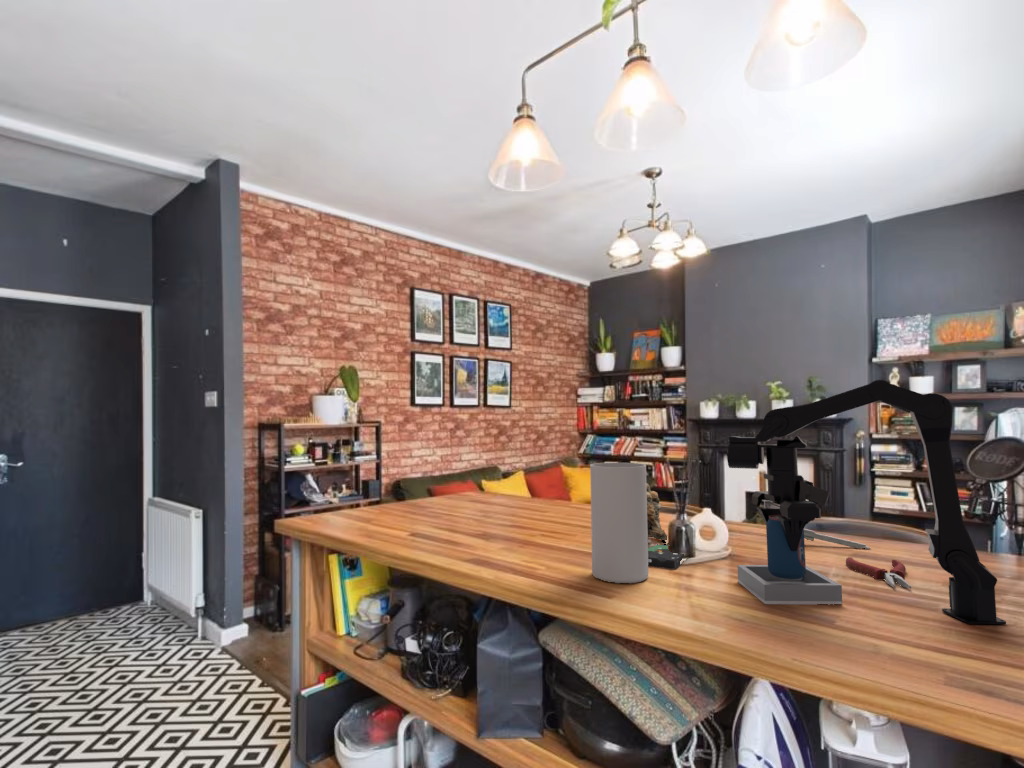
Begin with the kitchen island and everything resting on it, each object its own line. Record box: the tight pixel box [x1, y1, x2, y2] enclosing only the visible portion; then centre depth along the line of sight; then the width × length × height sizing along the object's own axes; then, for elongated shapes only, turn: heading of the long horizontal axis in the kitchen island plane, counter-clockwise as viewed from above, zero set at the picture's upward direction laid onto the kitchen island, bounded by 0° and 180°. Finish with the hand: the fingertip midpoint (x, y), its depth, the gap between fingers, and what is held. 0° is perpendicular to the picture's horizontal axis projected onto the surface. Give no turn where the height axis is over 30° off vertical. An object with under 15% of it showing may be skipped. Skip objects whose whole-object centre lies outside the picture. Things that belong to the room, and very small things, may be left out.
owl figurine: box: [646, 482, 668, 541], centre depth 160 cm, size 18×12×17 cm, turn 157°
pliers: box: [845, 556, 912, 589], centre depth 123 cm, size 12×20×3 cm, turn 163°
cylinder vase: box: [589, 462, 650, 584], centre depth 126 cm, size 12×12×25 cm
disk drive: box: [648, 544, 684, 570], centre depth 140 cm, size 10×3×15 cm
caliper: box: [804, 528, 872, 550], centre depth 153 cm, size 20×1×6 cm, turn 69°
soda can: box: [765, 515, 807, 581], centre depth 113 cm, size 7×7×12 cm
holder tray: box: [737, 564, 843, 606], centre depth 113 cm, size 14×14×4 cm
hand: (785, 546), depth 113 cm, fingers closed on soda can, 7 cm apart
